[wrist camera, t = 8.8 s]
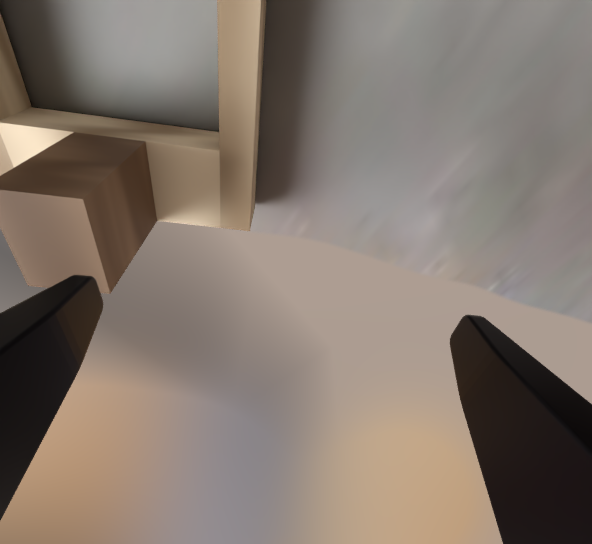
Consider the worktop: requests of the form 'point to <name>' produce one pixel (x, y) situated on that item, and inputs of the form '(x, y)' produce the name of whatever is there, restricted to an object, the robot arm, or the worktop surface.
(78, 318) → the robot arm
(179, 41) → the worktop surface
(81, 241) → the ash sled frame
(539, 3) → the worktop surface
